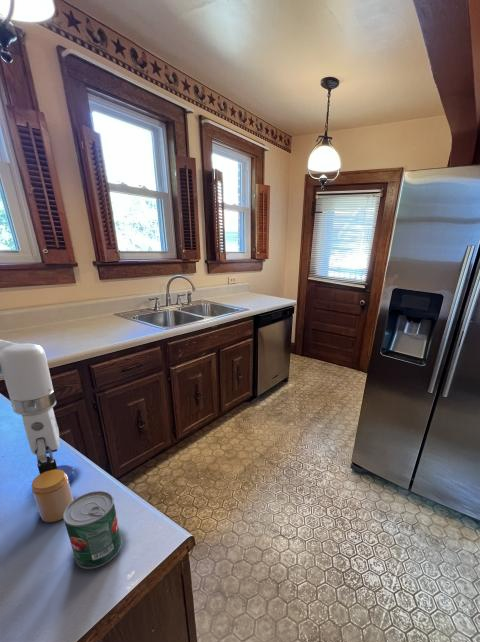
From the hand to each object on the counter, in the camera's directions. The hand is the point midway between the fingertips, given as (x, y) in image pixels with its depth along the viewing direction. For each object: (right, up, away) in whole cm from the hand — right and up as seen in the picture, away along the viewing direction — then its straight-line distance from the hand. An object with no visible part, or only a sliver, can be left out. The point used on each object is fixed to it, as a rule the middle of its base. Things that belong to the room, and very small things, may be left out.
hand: (49, 463), depth 74 cm
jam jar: (+7, -8, -6) cm, 12 cm away
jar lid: (+1, -3, +1) cm, 4 cm away
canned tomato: (+20, -13, -14) cm, 28 cm away
